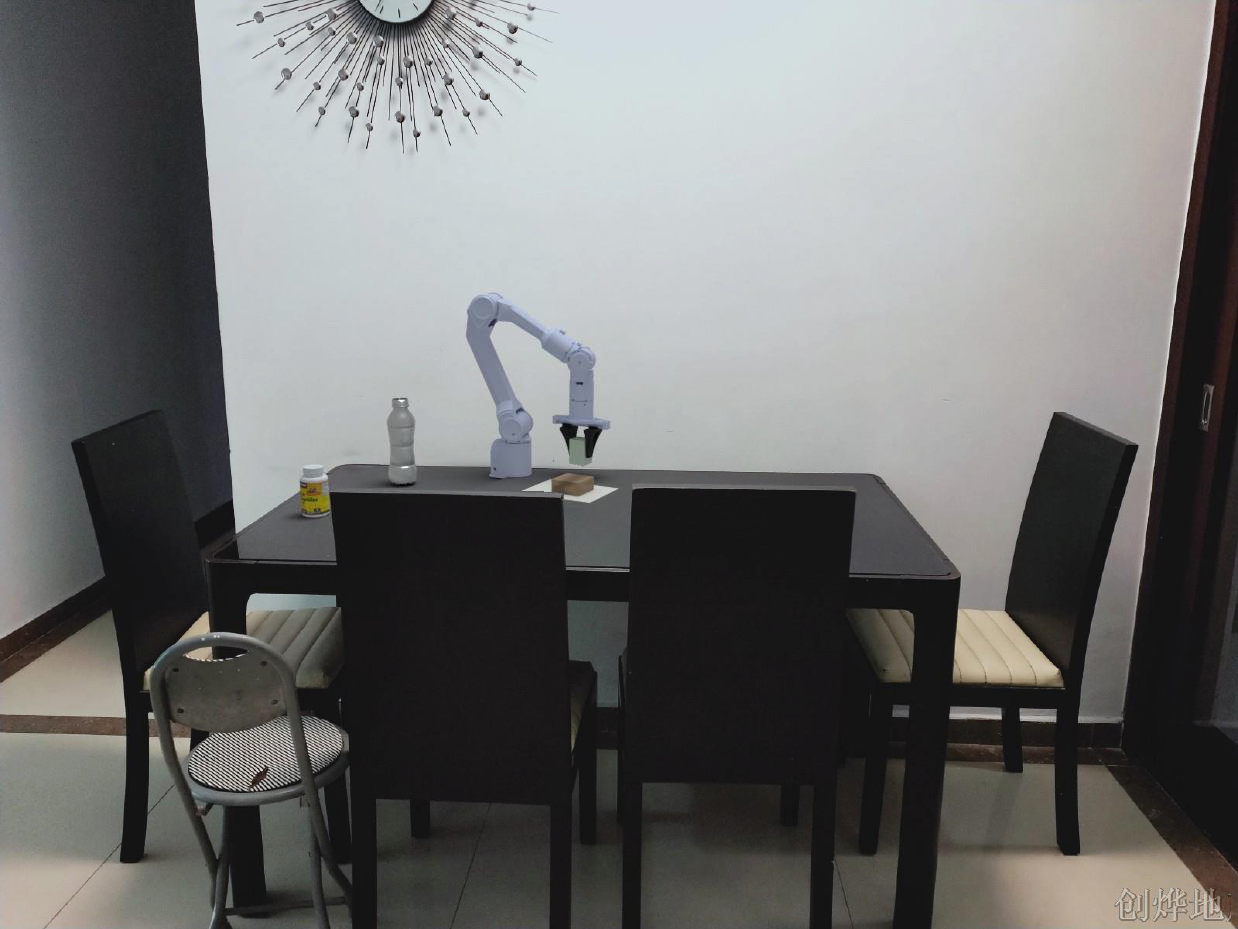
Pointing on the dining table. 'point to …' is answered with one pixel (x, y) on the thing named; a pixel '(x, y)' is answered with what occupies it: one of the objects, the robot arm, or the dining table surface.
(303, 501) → the supplement bottle
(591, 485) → the walnut base
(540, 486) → the plate
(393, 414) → the plastic bottle
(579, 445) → the sage block
